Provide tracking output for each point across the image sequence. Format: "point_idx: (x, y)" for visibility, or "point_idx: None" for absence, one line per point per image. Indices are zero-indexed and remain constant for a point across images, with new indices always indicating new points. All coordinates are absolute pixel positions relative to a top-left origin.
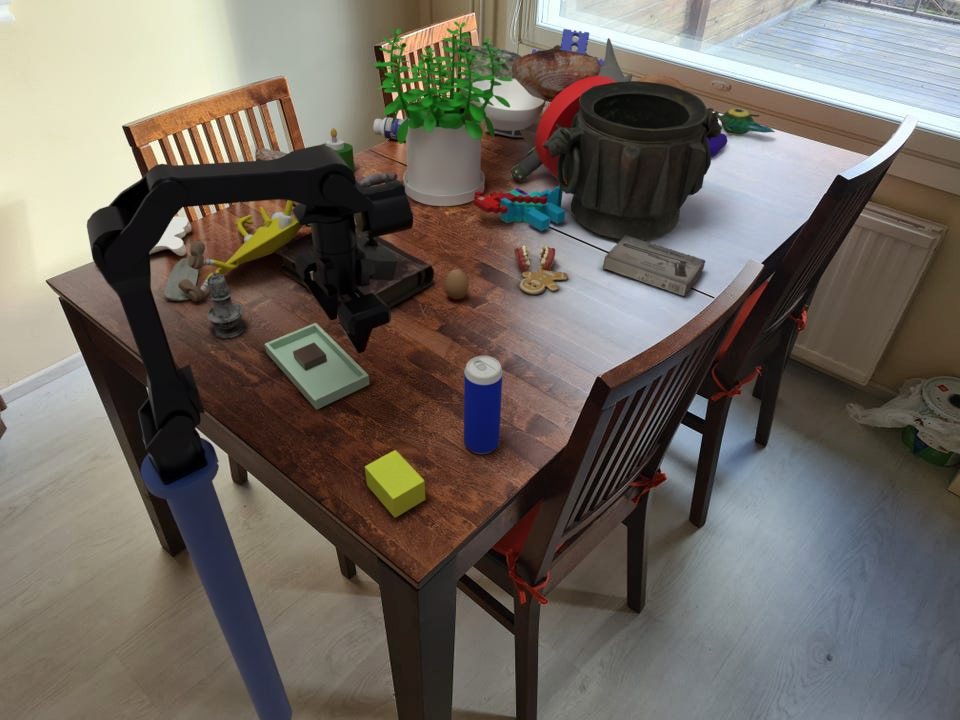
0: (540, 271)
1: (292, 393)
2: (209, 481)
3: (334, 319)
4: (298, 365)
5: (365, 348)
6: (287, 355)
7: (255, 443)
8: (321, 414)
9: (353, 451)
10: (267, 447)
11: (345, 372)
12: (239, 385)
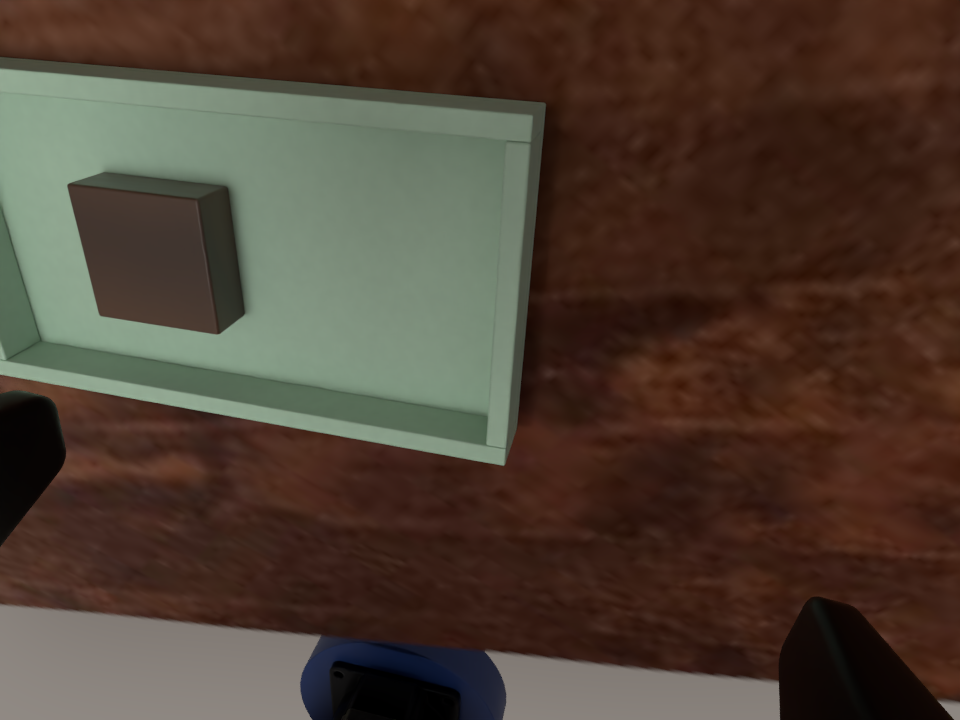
0: None
1: None
2: (496, 676)
3: (58, 424)
4: None
5: (896, 660)
6: None
7: (515, 653)
8: (558, 429)
9: (891, 488)
10: (565, 645)
11: (371, 165)
12: (195, 520)
